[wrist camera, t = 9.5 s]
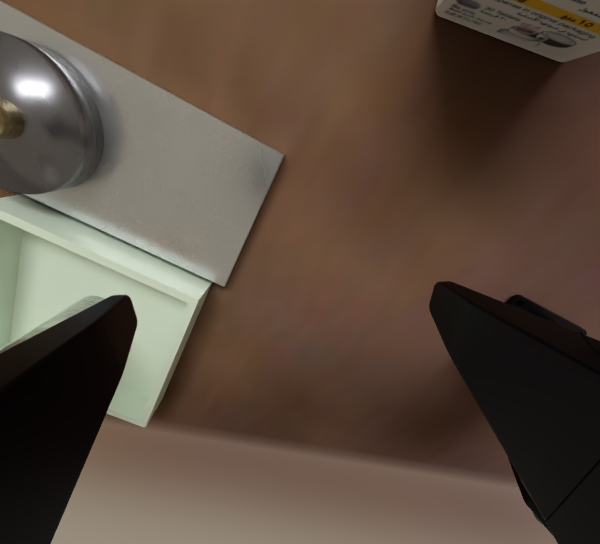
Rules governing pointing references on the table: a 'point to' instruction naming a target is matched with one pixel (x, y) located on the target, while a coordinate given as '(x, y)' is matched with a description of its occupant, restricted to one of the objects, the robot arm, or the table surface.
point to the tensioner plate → (125, 151)
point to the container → (532, 24)
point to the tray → (96, 293)
